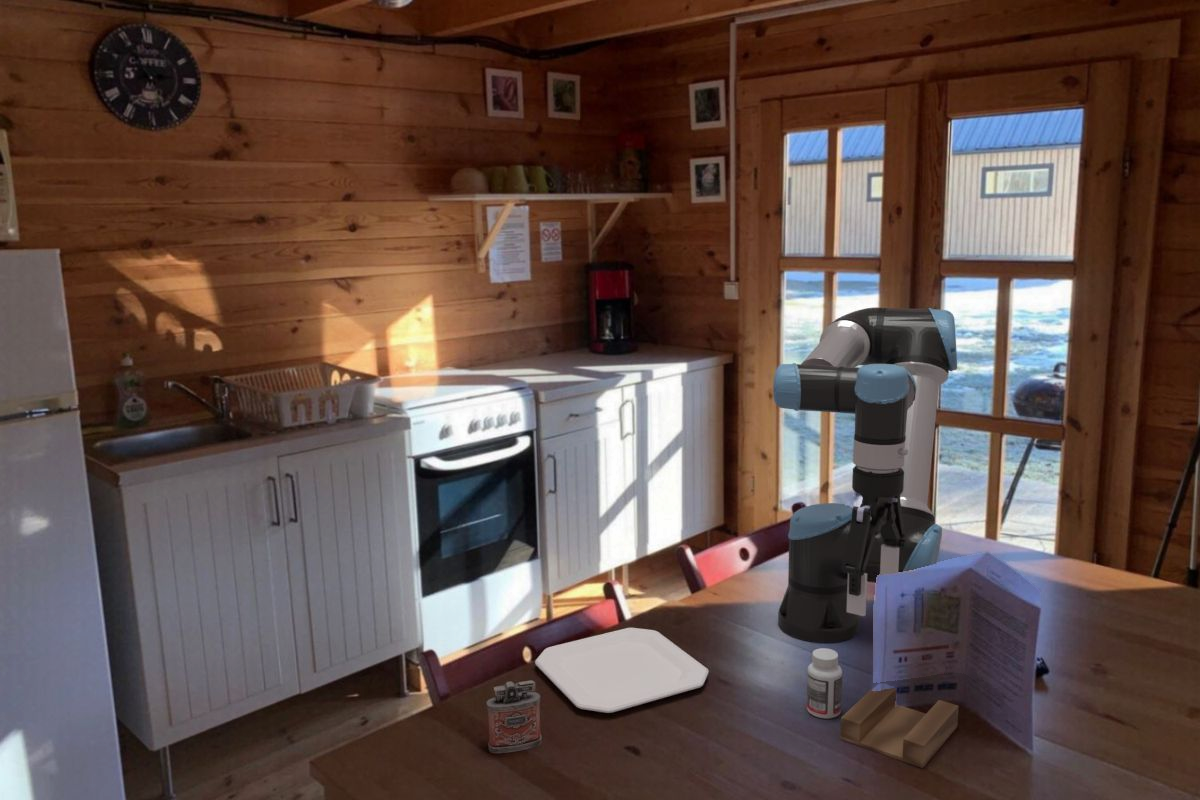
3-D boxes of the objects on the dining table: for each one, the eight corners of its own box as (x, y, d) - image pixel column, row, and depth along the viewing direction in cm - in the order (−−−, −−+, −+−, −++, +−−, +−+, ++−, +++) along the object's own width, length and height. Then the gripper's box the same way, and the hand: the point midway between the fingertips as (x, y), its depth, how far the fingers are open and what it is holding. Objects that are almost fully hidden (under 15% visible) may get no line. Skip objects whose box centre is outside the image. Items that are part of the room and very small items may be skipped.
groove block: (840, 738, 145) (840, 717, 144) (878, 701, 155) (879, 681, 155) (922, 768, 137) (923, 745, 136) (957, 726, 147) (958, 705, 147)
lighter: (490, 755, 142) (487, 693, 140) (486, 743, 145) (483, 682, 143) (544, 746, 144) (542, 684, 142) (538, 734, 147) (536, 674, 145)
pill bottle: (831, 700, 156) (832, 644, 154) (847, 716, 151) (849, 659, 149) (800, 704, 155) (801, 648, 153) (815, 721, 150) (817, 663, 148)
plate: (526, 663, 171) (525, 651, 171) (647, 633, 182) (647, 622, 182) (588, 728, 149) (588, 715, 149) (721, 690, 160) (721, 677, 160)
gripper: (871, 490, 134) (865, 632, 138) (930, 453, 154) (923, 578, 158) (821, 482, 138) (816, 620, 143) (884, 447, 158) (878, 569, 162)
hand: (872, 598), depth 150 cm, fingers open, 13 cm apart
